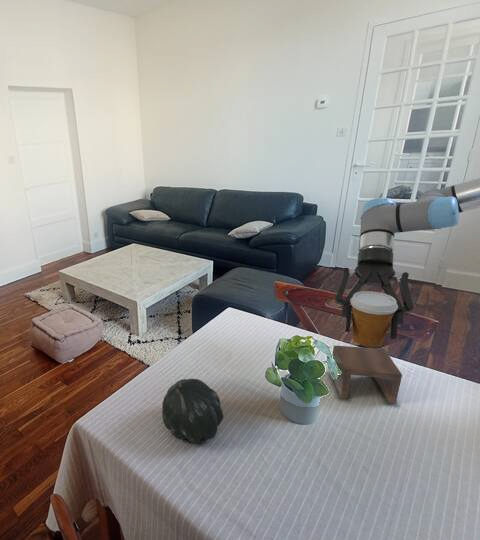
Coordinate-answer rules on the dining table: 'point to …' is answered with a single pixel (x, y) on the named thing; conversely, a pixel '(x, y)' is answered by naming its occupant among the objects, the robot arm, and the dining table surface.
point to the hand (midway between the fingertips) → (369, 334)
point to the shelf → (367, 369)
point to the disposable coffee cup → (371, 317)
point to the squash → (192, 410)
